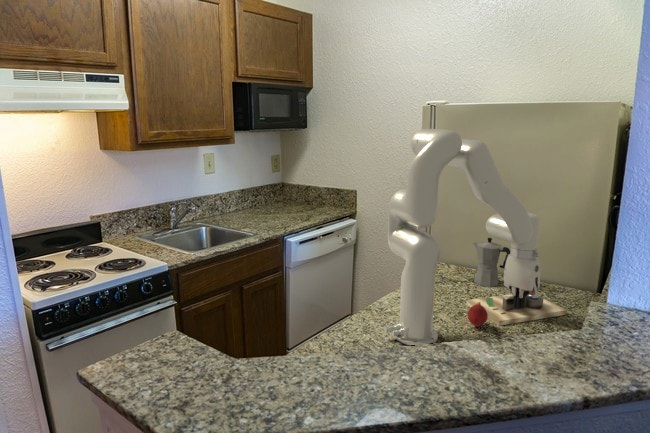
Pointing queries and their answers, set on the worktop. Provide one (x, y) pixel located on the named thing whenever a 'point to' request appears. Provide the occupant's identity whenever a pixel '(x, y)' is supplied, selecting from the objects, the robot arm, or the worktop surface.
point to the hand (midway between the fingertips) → (518, 307)
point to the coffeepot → (489, 262)
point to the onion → (477, 315)
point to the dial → (530, 302)
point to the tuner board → (515, 310)
